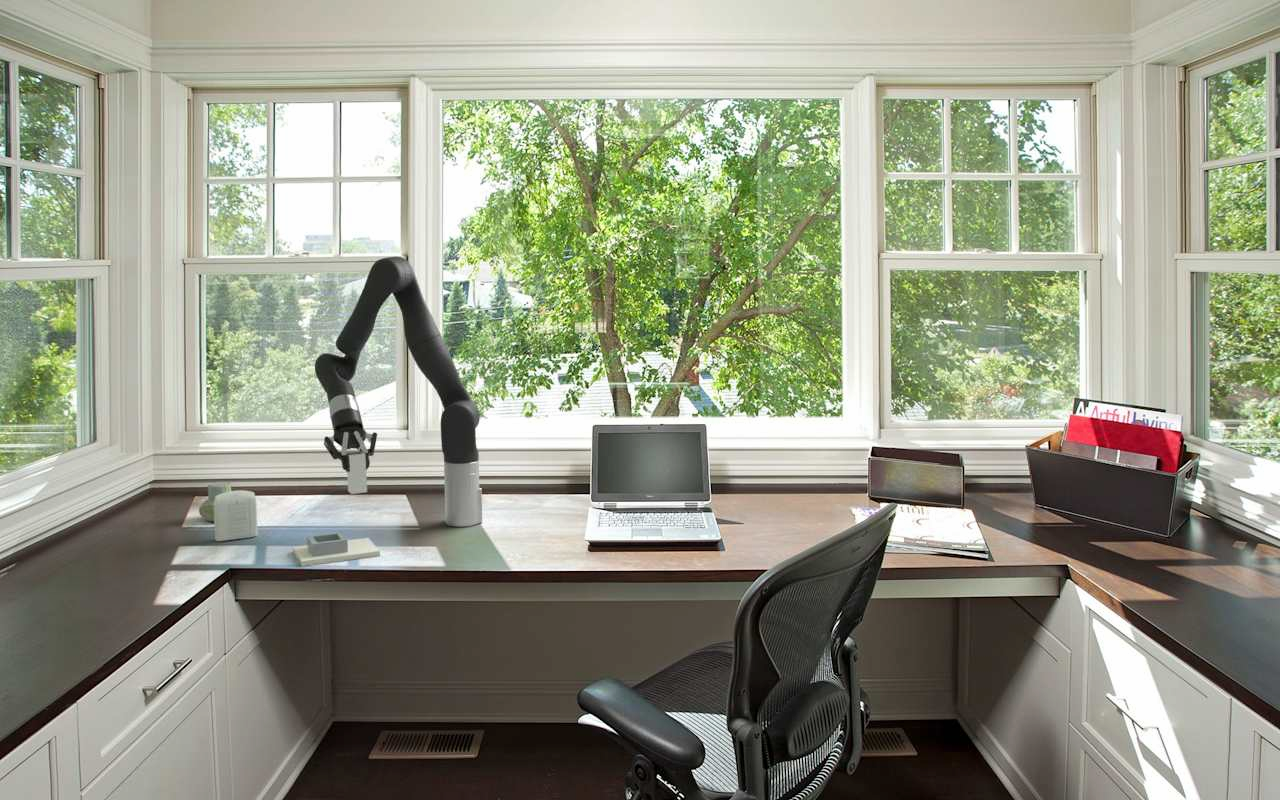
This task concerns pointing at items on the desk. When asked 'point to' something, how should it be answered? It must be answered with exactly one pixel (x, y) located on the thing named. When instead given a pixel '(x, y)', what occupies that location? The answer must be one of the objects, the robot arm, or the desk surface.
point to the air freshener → (208, 506)
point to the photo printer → (235, 515)
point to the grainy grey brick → (357, 472)
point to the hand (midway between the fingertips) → (357, 468)
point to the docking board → (333, 549)
